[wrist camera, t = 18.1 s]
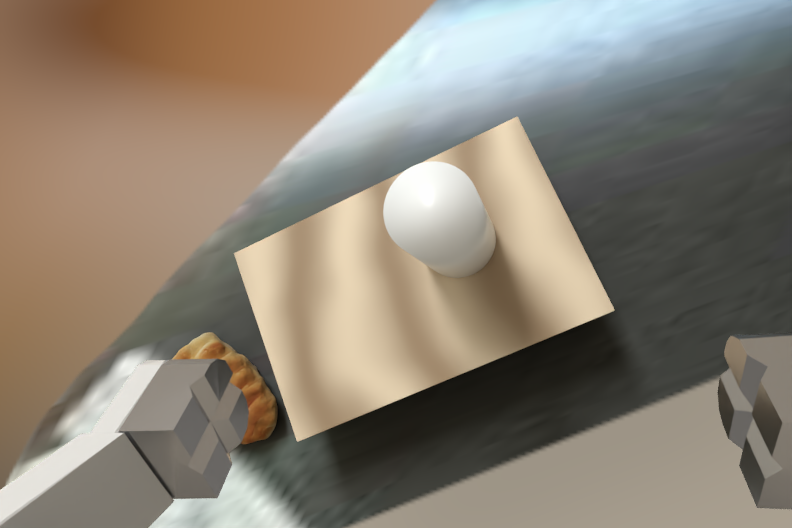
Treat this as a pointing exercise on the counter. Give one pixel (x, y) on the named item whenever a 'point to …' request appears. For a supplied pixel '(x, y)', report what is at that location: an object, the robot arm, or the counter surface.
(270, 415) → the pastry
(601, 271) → the counter surface
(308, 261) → the wooden board
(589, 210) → the counter surface
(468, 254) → the white rounded block
